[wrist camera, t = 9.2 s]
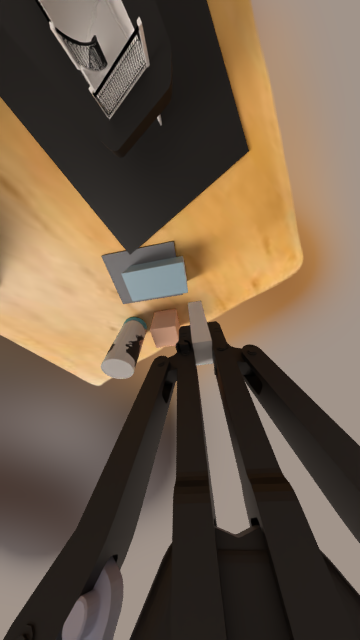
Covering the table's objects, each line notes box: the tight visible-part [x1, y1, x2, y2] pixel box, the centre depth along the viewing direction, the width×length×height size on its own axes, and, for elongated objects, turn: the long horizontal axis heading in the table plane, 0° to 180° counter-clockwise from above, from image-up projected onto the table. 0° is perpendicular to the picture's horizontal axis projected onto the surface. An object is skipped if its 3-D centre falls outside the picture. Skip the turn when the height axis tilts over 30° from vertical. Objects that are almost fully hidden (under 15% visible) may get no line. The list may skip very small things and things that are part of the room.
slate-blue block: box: [122, 256, 188, 301], centre depth 30 cm, size 6×6×12 cm
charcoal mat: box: [102, 242, 183, 304], centre depth 33 cm, size 16×12×1 cm
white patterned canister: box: [101, 317, 147, 379], centre depth 36 cm, size 7×7×15 cm
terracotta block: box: [150, 309, 180, 348], centre depth 37 cm, size 6×6×8 cm
